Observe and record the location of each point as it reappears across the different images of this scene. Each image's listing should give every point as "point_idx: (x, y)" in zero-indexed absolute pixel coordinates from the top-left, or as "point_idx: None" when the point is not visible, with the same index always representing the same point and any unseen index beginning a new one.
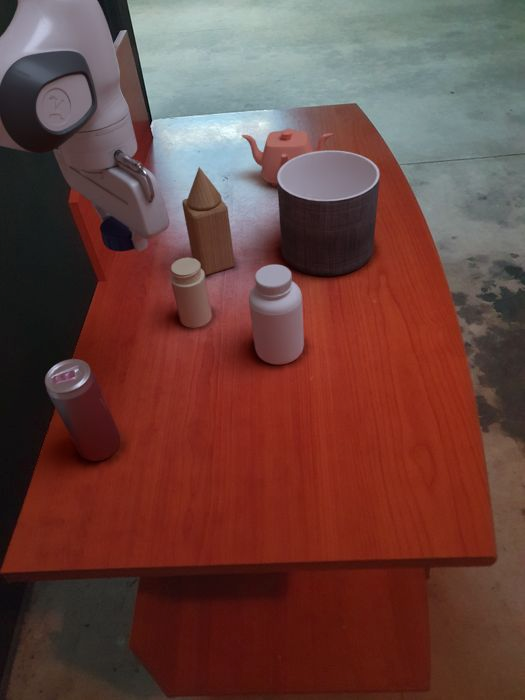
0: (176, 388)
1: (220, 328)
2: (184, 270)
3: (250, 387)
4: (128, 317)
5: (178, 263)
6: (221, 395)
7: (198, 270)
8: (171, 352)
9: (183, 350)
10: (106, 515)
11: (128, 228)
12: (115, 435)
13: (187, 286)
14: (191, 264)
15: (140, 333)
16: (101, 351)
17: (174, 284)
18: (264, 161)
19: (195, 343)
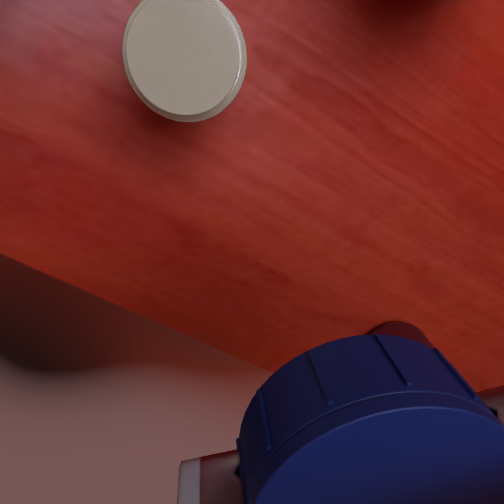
0: (368, 202)
1: (269, 25)
2: (209, 74)
3: (472, 67)
4: (102, 210)
5: (152, 73)
6: (445, 133)
7: (231, 21)
8: (271, 170)
9: (282, 144)
10: (494, 365)
11: (459, 498)
12: (429, 341)
13: (239, 86)
14: (188, 29)
15: (173, 206)
16: (182, 291)
17: (204, 119)
18: None
19: (279, 109)
